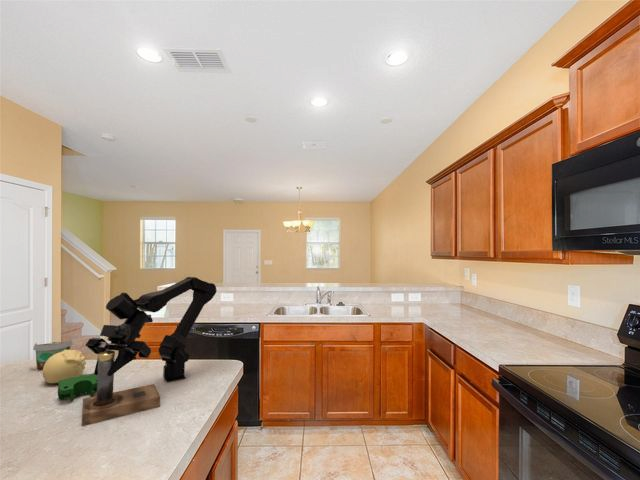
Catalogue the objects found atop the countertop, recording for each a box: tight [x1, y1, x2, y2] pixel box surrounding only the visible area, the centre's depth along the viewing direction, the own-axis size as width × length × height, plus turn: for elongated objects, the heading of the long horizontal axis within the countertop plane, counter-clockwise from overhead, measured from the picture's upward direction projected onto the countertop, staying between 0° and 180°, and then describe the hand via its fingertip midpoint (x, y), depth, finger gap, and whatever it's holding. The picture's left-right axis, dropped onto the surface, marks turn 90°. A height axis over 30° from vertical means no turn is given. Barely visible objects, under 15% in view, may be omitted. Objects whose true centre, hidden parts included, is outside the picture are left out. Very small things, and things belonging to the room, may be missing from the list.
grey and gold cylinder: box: [96, 350, 116, 401], centre depth 92 cm, size 4×4×13 cm
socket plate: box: [81, 383, 161, 427], centre depth 94 cm, size 19×11×3 cm, turn 127°
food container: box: [33, 339, 74, 371], centre depth 123 cm, size 12×6×10 cm, turn 118°
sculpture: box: [42, 349, 87, 384], centre depth 113 cm, size 11×12×11 cm
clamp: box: [57, 372, 97, 403], centre depth 101 cm, size 12×6×9 cm, turn 129°
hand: (101, 375), depth 90 cm, fingers closed on grey and gold cylinder, 4 cm apart
